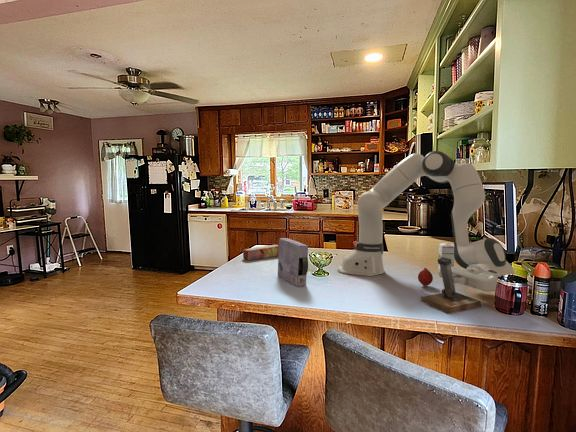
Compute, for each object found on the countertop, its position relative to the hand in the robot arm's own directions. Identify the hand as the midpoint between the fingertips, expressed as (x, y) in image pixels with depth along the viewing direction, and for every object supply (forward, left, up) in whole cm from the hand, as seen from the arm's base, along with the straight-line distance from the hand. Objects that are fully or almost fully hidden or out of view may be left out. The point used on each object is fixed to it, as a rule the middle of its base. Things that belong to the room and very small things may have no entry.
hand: (450, 280), depth 120 cm
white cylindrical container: (+10, +40, -9) cm, 43 cm away
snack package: (-82, +58, -9) cm, 101 cm away
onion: (-4, +20, -9) cm, 23 cm away
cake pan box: (-60, +18, -9) cm, 63 cm away
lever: (0, 0, -6) cm, 6 cm away
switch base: (0, 0, -9) cm, 9 cm away
